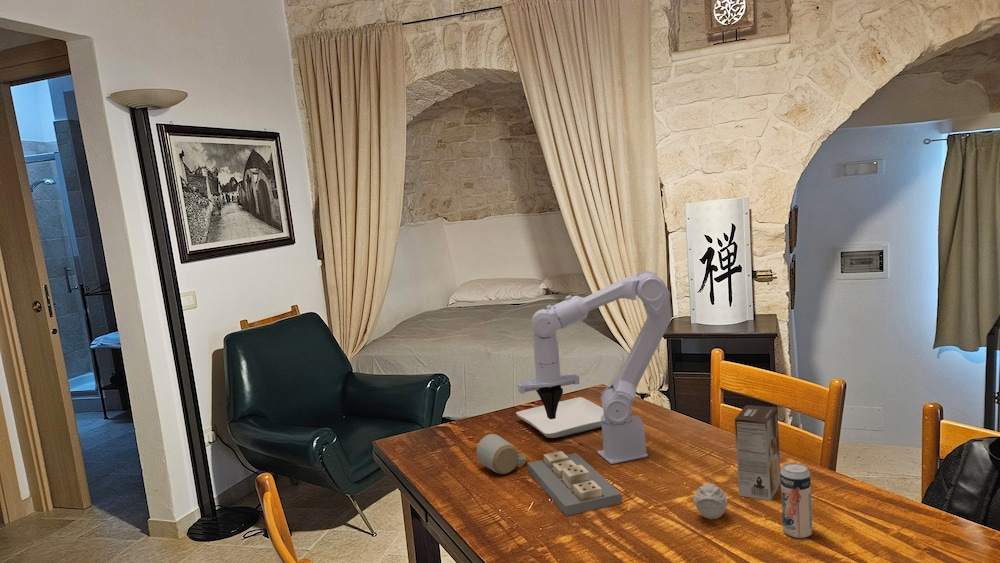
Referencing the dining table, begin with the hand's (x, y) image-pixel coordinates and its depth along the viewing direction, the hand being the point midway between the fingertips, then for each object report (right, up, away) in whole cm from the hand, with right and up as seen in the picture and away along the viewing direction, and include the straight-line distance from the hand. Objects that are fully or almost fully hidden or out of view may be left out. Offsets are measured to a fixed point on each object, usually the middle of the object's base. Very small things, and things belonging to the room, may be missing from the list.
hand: (551, 417), depth 159 cm
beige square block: (+6, -12, -22) cm, 26 cm away
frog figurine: (+27, -12, -33) cm, 45 cm away
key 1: (+1, -11, -5) cm, 12 cm away
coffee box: (+40, -10, -23) cm, 47 cm away
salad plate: (+6, -7, +25) cm, 27 cm away
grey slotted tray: (+3, -12, -14) cm, 18 cm away
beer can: (+40, -12, -41) cm, 58 cm away
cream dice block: (+3, -11, -11) cm, 16 cm away
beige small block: (+4, -11, -17) cm, 20 cm away
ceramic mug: (-11, -12, 0) cm, 16 cm away
